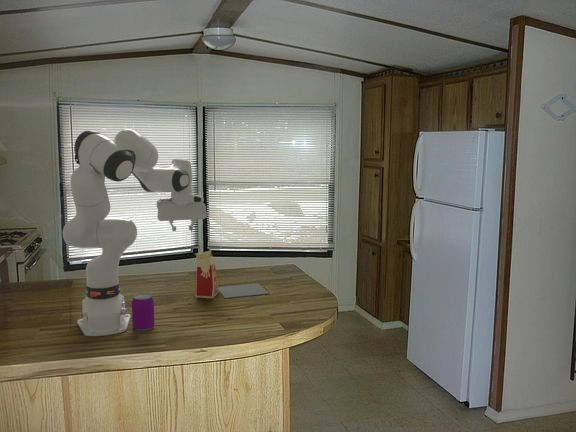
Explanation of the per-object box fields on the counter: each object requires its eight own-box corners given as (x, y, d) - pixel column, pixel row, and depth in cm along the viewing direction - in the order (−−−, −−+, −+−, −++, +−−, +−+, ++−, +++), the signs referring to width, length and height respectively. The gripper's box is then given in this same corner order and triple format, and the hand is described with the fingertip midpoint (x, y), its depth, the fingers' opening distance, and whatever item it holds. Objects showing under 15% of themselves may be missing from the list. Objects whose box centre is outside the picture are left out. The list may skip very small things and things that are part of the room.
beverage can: (146, 322, 195) (145, 291, 193) (158, 327, 190) (158, 295, 188) (128, 328, 189) (127, 296, 187) (141, 333, 185) (139, 300, 183)
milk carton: (218, 292, 233) (218, 248, 230) (213, 298, 224) (213, 252, 221) (198, 291, 234) (197, 247, 231) (192, 297, 225) (192, 252, 222)
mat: (269, 294, 231) (269, 293, 231) (224, 298, 224) (224, 297, 224) (258, 284, 246) (258, 283, 246) (216, 288, 239) (216, 287, 239)
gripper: (157, 199, 212) (158, 233, 214) (207, 198, 219) (207, 230, 222) (155, 197, 218) (156, 230, 220) (204, 196, 225) (204, 227, 227)
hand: (182, 230), depth 221 cm, fingers open, 5 cm apart
